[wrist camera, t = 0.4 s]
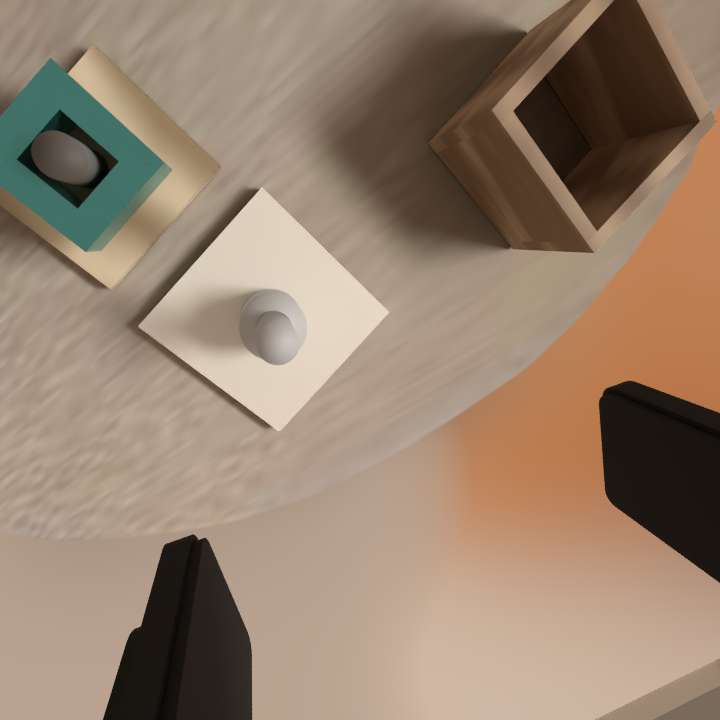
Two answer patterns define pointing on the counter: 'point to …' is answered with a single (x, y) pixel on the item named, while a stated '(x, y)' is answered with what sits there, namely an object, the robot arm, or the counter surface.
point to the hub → (265, 313)
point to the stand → (93, 163)
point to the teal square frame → (63, 113)
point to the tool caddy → (592, 116)
